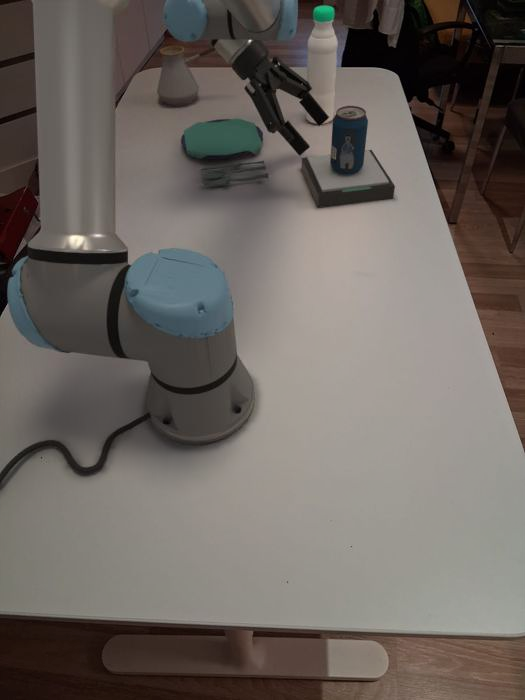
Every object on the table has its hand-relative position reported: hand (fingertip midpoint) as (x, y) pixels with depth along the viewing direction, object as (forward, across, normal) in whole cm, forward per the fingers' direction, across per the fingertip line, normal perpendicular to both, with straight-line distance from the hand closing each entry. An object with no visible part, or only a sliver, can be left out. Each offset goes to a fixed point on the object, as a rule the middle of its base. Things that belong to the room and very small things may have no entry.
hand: (314, 136), depth 111 cm
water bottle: (+2, -29, -12) cm, 31 cm away
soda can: (+10, 0, 0) cm, 10 cm away
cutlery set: (-9, -4, -23) cm, 26 cm away
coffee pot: (-24, -31, -38) cm, 54 cm away
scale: (+12, 0, -2) cm, 12 cm away
